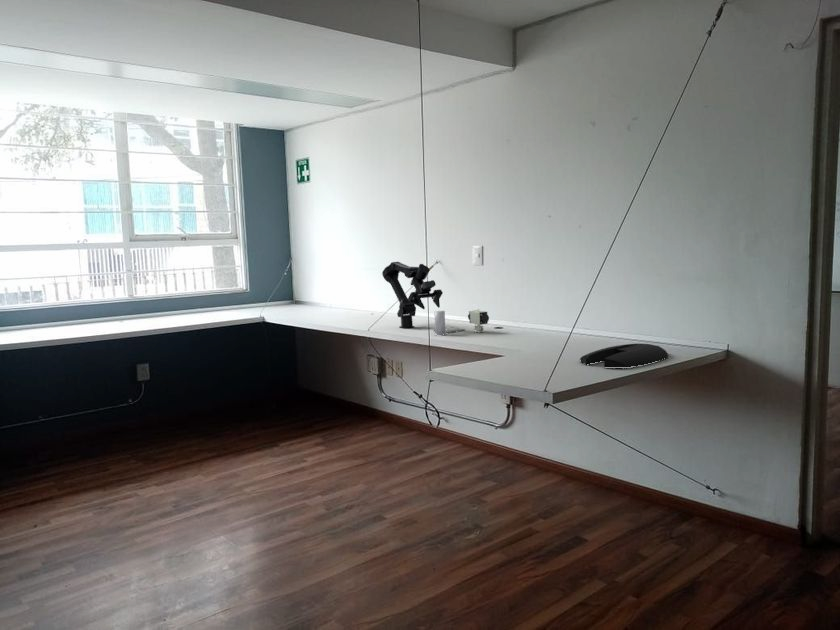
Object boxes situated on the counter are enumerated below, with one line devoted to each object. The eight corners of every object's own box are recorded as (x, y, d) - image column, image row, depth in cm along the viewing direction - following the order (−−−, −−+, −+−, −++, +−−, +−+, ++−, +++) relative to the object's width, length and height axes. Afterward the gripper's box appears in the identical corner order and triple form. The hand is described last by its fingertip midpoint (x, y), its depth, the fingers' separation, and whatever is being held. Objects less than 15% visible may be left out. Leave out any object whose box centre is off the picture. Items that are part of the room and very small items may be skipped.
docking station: (683, 356, 274) (683, 344, 273) (623, 373, 249) (623, 359, 248) (630, 349, 293) (630, 338, 292) (569, 364, 268) (569, 351, 267)
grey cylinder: (432, 334, 350) (431, 311, 348) (441, 333, 353) (440, 310, 352) (439, 335, 345) (438, 312, 343) (448, 334, 349) (447, 311, 347)
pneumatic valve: (482, 334, 346) (482, 310, 344) (468, 331, 355) (467, 308, 354) (490, 332, 349) (490, 309, 347) (476, 330, 358) (475, 307, 357)
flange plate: (433, 331, 361) (433, 329, 361) (450, 328, 369) (450, 326, 369) (447, 333, 352) (447, 331, 352) (465, 330, 359) (465, 328, 359)
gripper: (409, 276, 351) (421, 299, 343) (440, 274, 361) (452, 296, 353) (402, 291, 359) (414, 313, 351) (432, 288, 369) (444, 310, 361)
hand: (431, 308), depth 354 cm, fingers open, 9 cm apart
